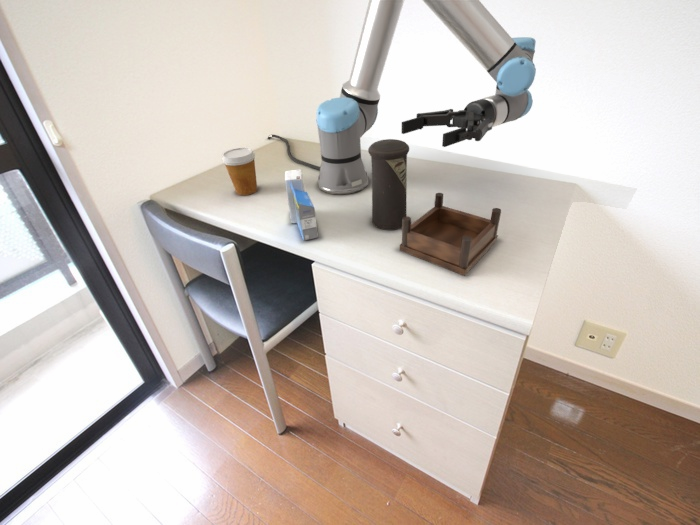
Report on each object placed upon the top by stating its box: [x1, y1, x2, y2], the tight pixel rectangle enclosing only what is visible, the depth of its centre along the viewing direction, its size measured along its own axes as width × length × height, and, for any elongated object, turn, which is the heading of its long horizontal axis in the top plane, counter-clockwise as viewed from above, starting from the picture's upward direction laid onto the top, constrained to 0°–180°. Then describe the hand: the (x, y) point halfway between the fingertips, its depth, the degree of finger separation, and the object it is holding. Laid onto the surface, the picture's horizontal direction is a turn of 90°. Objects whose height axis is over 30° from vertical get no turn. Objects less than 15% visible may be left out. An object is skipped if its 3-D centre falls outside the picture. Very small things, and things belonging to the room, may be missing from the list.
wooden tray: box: [399, 192, 502, 277], centre depth 80 cm, size 16×16×8 cm
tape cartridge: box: [290, 181, 319, 242], centre depth 88 cm, size 9×4×12 cm, turn 16°
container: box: [367, 138, 410, 231], centre depth 86 cm, size 9×9×20 cm
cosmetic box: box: [284, 168, 305, 224], centre depth 94 cm, size 6×4×12 cm
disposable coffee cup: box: [221, 147, 258, 196], centre depth 110 cm, size 10×10×12 cm
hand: (421, 134), depth 85 cm, fingers open, 13 cm apart
